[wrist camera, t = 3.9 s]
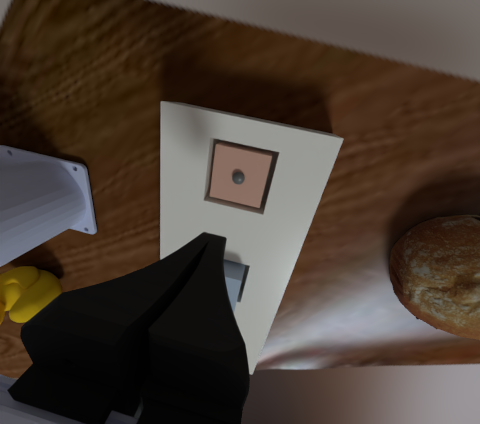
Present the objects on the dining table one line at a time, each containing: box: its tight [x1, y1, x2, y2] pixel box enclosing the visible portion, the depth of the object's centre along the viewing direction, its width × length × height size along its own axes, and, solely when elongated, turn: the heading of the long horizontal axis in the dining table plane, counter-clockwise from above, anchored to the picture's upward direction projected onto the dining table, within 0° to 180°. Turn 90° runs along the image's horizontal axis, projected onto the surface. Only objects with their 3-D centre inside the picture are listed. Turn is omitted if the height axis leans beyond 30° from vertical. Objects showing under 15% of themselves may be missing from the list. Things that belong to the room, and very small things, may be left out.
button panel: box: [160, 101, 343, 374], centre depth 21 cm, size 12×28×3 cm, turn 170°
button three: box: [224, 259, 245, 313], centre depth 20 cm, size 4×4×3 cm
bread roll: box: [390, 215, 480, 340], centre depth 17 cm, size 10×10×8 cm
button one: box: [210, 140, 273, 208], centre depth 16 cm, size 4×4×3 cm
